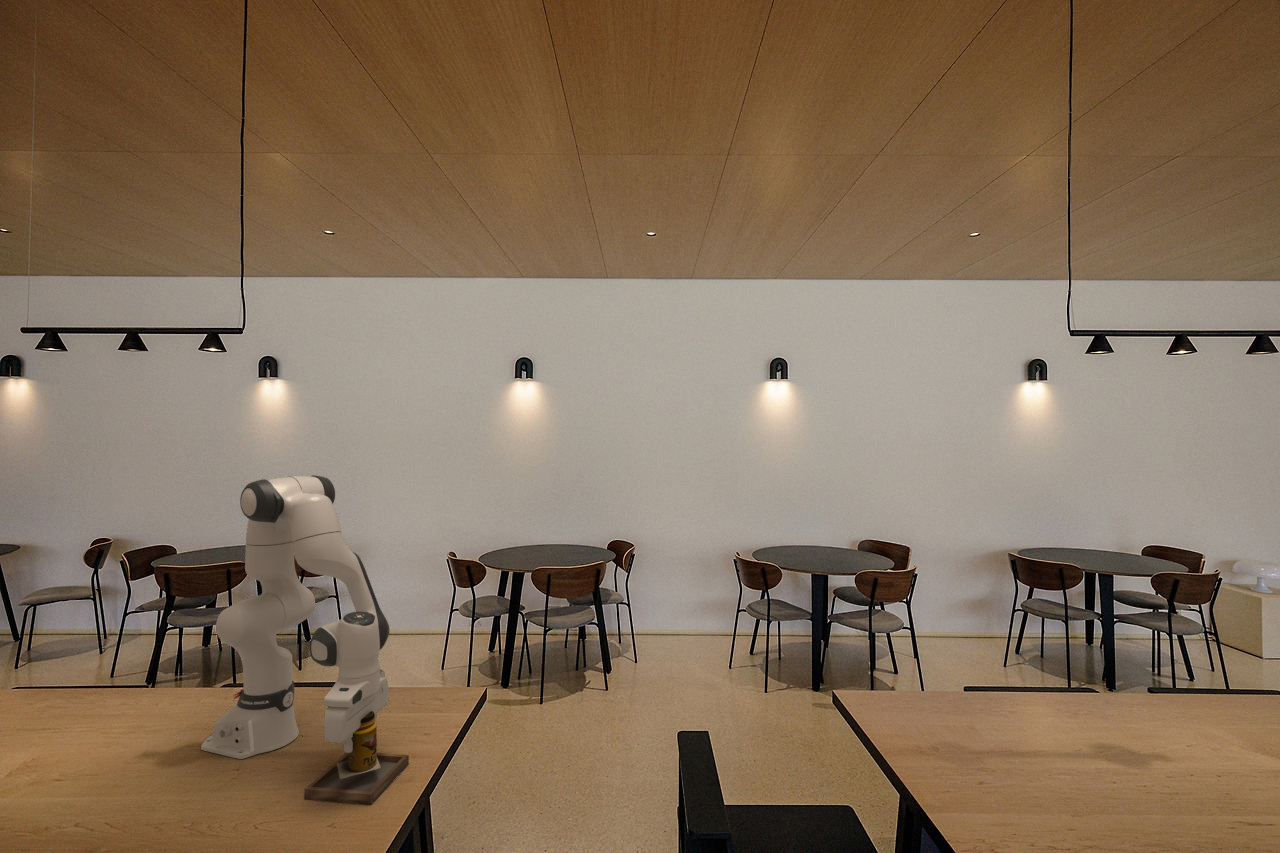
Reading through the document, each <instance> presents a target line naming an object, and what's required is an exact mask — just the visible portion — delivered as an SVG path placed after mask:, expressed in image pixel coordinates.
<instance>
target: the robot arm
mask: <svg viewBox="0 0 1280 853" xmlns="http://www.w3.org/2000/svg"><path fill="white" fill-rule="evenodd" d="M335 500H336V490H335V486H334V485H333V483H332V481H331V480H330V479H329V478H328V477H325V476H321V475H313V474H312V475H293V476H292V475H289V476H286V477H276V478H271V479H264V478H263V479H258V480H255V481H252V482H249V483H248V484H246V486H245V487H244V488H243V490H242V492H241V493H240V499H239V501H240V502H239V504H240V509H241V512H242V513H243V515H244V517H246V518H247V519H248V522H247V527H246V535H245V558H244V559H245V560H244V569H245V574H246V575H248V577H250V578H251V579H253V580H256V581H258V582H260V585H261V592H262V593H261V594H259V595H256V596H253V597H250V598H246V599H242V600H239V601H238V602H236V603H234V604H232V605H230V606H228V607H227V608H225V609H223V610H222V611H221V612H220V613H219V615H218V617H217V619H216V622H215V632H216V634H217V636H218V638H219V640H220V641H221V642H222V643H224V644H225V645H227V646H229V647H232V648H233V649H234V650H235V651H236V652H237V653H238V655H239V657H240V659H241V664H242V673H243V674H242V676H243V677H242V678H243V679H242V680H243V681H242V682H243V688H242V689H240V691H238V692H236V693H235V694H233V696H234V697H233V700H236V699H238V700H237V703H236V704H235V705H234V706H232V707H231V708H230V709H228V710H227V711H226V712H225V713H224V714H222V715H221V716H220V717H219V718H218V719H217V720H216V722H215V723H214V725H213V729H212V735H211V736H209V737H208V738H206V739H205V740H204V741H203V742H202V743H201V745H200V746H201V747H200V750H201V751H205V752H209V753H212V754H217V755H221V756H225V757H230V758H234V759H237V760H243V759H247V758H249V757H252V756H255V755H258V754H263V753H267V752H272V751H274V750H277V749H280V748H283V747H285V746H286V745H288V744H290V743H292V742H293V741H294V740H296V738H298V736H299V734H300V731H299V727H298V724H297V719H296V714H295V709H294V708H295V706H294V699H295V682H294V680H293V654H292V653H291V651H290V650H289V649H287V648H286V647H282V646H280V645H278V643H277V642H278V641H277V634H278V633H280V632H283V631H285V630H288V629H292V628H294V627H295V626H297V625H299V624H302V622H304V621H305V620H307V619H308V618H310V617H311V616H312V615H313V613H314V611H315V609H316V599H315V595H314V594H313V592H312V591H311V590H310V589H309V588H308V587H306V586H305V585H304V584H302V582H301V581H300V579H299V577H298V575H297V571H296V565H295V561H296V563H297V564H298V565H299V567H301V568H302V569H303V570H305V571H306V572H308V573H312V574H314V575H319V576H325V577H331V578H334V579H337V580H339V581H341V583H343V584H344V585H345V586H346V588H347V591H348V594H349V596H350V599H351V601H352V604H353V605H352V606H353V607H354V610H355V611H352V612H349V613H346V614H344V615H342V617H341V619H339V620H337V621H334V622H331V623H327V624H324V625H322V626H320V627H318V628H317V629H315V631H314V633H313V634H312V635H311V638H310V643H309V653H310V657H311V659H312V660H313V661H314V662H315V663H316V664H318V665H320V666H323V667H338V674H337V675H338V676H337V677H338V679H337V680H336V681H335V683H334V684H333V685H332V687H331V689H330V690H329V692H328V693H326V694H325V697H324V699H323V705H324V706H325V707H326V710H325V712H324V721H323V731H324V735H323V736H324V740H325V741H326V742H327V743H328V744H338V745H339V744H343V751H344V752H345V753H351V752H352V751H353V750H354V749H355V742H352V739H351V738H352V737H353V733H354V732H355V731H356V730H358V729H359V728H360V725H361V723H360V721H361V719H362V718H364V717H365V716H366V715H368V714H369V713H370V712H371V711H373V712H374V714H375V722H376V721H377V718H378V713H379V712H380V711H382V710H383V709H384V708H385V707H386V706H388V703H389V702H390V690H389V682H388V679H387V677H386V671H384V670H383V669H381V667H380V666H381V665H380V663H379V653H380V651H381V650H382V649H383V648H384V646H385V645H386V643H387V640H388V638H389V636H390V624H389V621H388V620H387V617H385V614H384V613H383V611H382V609H381V607H380V605H379V602H378V600H377V598H376V597H377V596H376V595H375V592H374V589H373V587H372V584H371V581H370V579H369V576H368V573H367V570H366V569H365V565H364V563H363V561H362V559H361V557H360V556H359V555H358V554H357V553H355V552H354V551H352V550H351V549H350V548H349V547H348V545H347V543H346V542H345V540H344V538H343V533H342V529H341V524H340V521H339V517H338V514H337V512H336V509H335V506H334V503H335Z"/></svg>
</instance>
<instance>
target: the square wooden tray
mask: <svg viewBox="0 0 1280 853" xmlns="http://www.w3.org/2000/svg"><path fill="white" fill-rule="evenodd" d="M409 756H410V755H409V754H399V753H383V752H377V759H378V762H379V764H380V768H378V769H375V770H372V771H368V772H365V773H361V774H357V775H353V776H349V777H347V778H343V779H340V776H339V772H338V768H337V763H340V762H345V761H348V760H349V755H348V753H346V752H345V753H344V754H343V755H342V756H340V758H338V759H337V760H336V761H335V762H334V763H332V764H331V765H330V766H329V767H328V768H327V769H325V771H323V772H322V773H321V774H320V775H319V776H318V777H316V779H314V780H313V781H311V782H310V784H308V785H307V786H306V787H305V788H304V790H303V791H304V792H303V793H304V797H303V799H304V801H306V800H307V801H317V802H318V801H321V802H331V803H332V802H333V803H343V804H351V805H353V804H354V805H365V806H372V805H373V804H374V803H375V802H376V801H377V799H378V798H379V797H381V795H382V794H383V793H384V792H385V791H386V790H387V789H388V788H389V786H391V784H392V783H393V782H394V781H395V780H396V779H397V778H398V777H399V776H400V775H401V773H402V772H403V771H405V769H406V768H407V767H408V766H409V763H410V762H409ZM398 775H399V776H398ZM397 776H398V777H397ZM396 777H397V778H396ZM395 778H396V779H395ZM394 779H395V780H394ZM393 780H394V781H393Z"/></svg>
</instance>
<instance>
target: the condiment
mask: <svg viewBox="0 0 1280 853" xmlns="http://www.w3.org/2000/svg"><path fill="white" fill-rule="evenodd" d="M360 723H361V725H360V728H359V729H358V730H356V731H355V732H354V733H353V737H352V738H351V739H352V742H355V749H354V750H353V751H352V752H351V753H348V755H349V760H348V761H345V762H340V763H337V768H338V772H339V776H340V779H343V778H347V777H349V776H353V775H357V774H361V773H365V772H368V771H372V770H375V769H378V768H380V764H379V762H378V759H377V753H378V752H377V751H378V747H377V746H378V744H377V742H378V739H377V736H378V735H377V734H378V733H377V730H378V729H377V727H378V726H377V723H376V721H375V714H374V712H373V711H371V712H370V713H369V714H368V715H366V716H365V717H364V718H362V719H361V721H360Z"/></svg>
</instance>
